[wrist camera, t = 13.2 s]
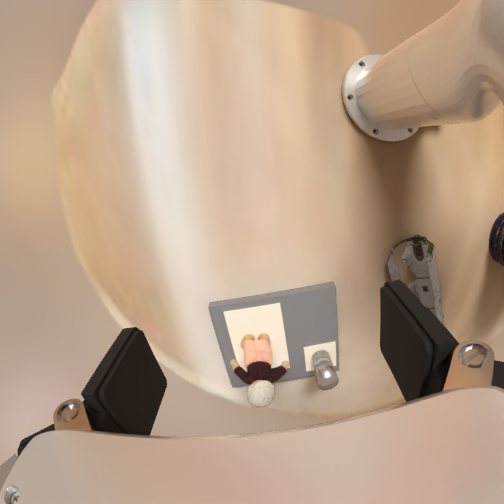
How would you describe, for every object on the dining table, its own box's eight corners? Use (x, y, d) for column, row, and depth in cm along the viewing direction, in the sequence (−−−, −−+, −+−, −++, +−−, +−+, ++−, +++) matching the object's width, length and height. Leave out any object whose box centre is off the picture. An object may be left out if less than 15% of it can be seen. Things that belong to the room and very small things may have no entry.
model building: (394, 232, 42) (420, 342, 49) (381, 256, 38) (410, 369, 45) (437, 226, 36) (453, 344, 43) (429, 252, 32) (445, 373, 39)
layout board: (332, 281, 41) (335, 287, 40) (336, 364, 46) (339, 371, 44) (209, 302, 42) (208, 308, 41) (233, 381, 47) (232, 388, 46)
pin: (329, 348, 43) (338, 373, 37) (330, 362, 44) (338, 387, 38) (310, 352, 43) (317, 377, 37) (311, 366, 44) (318, 391, 38)
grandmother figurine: (236, 354, 43) (232, 416, 31) (231, 334, 42) (224, 396, 30) (286, 346, 43) (296, 408, 31) (283, 326, 41) (292, 387, 29)
